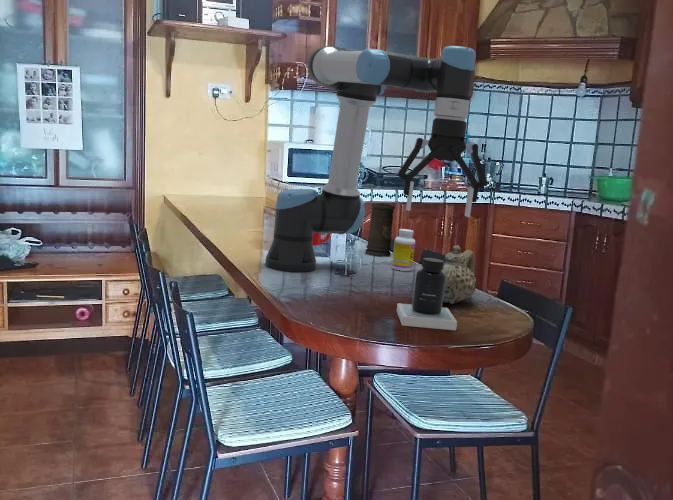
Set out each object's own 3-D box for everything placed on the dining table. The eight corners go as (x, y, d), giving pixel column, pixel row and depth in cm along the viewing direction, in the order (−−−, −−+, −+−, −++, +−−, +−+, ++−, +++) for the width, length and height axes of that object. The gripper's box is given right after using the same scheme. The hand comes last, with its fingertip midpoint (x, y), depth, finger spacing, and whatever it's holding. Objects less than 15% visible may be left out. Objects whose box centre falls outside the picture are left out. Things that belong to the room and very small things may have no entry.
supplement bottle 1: (411, 272, 206) (415, 232, 204) (390, 269, 208) (394, 229, 205) (412, 269, 213) (417, 230, 211) (392, 266, 214) (397, 227, 212)
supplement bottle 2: (423, 315, 145) (429, 262, 143) (405, 307, 151) (411, 256, 149) (447, 314, 148) (454, 262, 146) (429, 306, 154) (436, 256, 152)
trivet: (401, 325, 144) (403, 315, 144) (396, 311, 156) (397, 302, 155) (456, 330, 144) (457, 320, 144) (446, 316, 156) (447, 306, 156)
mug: (333, 245, 244) (335, 225, 243) (304, 245, 239) (306, 223, 238) (324, 242, 251) (326, 221, 250) (296, 241, 246) (297, 220, 245)
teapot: (456, 313, 160) (464, 252, 158) (413, 303, 166) (421, 244, 163) (486, 299, 178) (493, 245, 176) (446, 291, 184) (453, 238, 181)
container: (361, 254, 232) (367, 203, 229) (370, 251, 240) (375, 202, 238) (385, 257, 229) (391, 206, 226) (393, 254, 237) (399, 205, 234)
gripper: (396, 112, 142) (384, 209, 146) (509, 124, 142) (495, 221, 146) (393, 113, 150) (382, 205, 153) (501, 125, 150) (488, 216, 154)
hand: (437, 213), depth 150 cm, fingers open, 13 cm apart
